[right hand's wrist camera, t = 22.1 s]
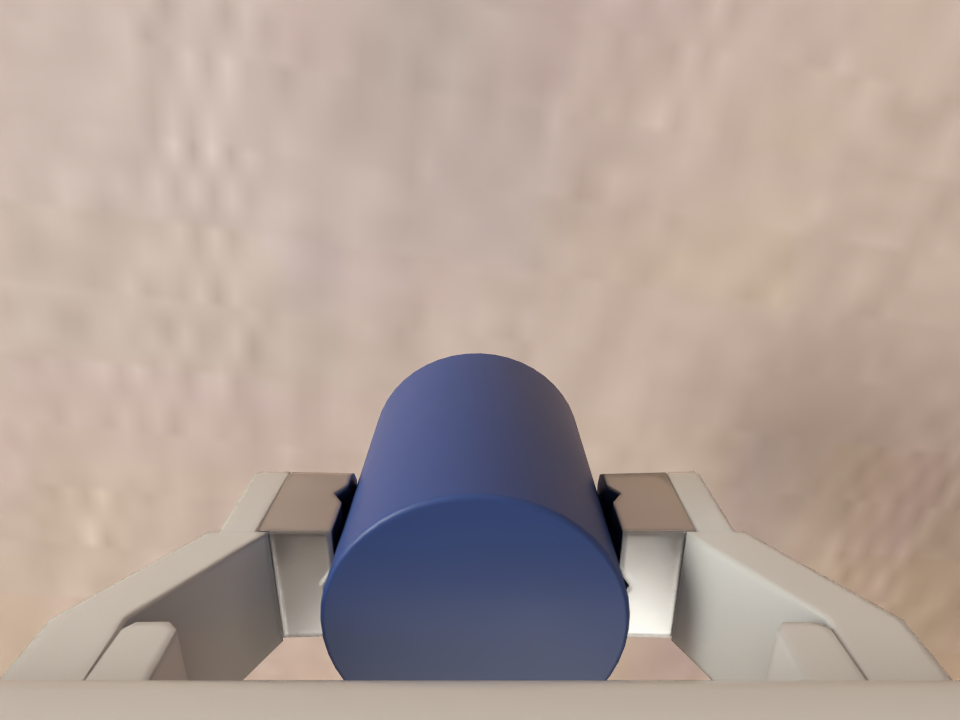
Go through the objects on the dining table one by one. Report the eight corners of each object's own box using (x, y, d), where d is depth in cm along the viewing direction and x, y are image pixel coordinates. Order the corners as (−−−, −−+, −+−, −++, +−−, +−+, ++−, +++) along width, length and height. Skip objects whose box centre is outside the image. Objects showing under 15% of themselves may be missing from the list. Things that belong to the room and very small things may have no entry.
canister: (581, 522, 13) (633, 729, 9) (391, 538, 13) (347, 749, 9) (573, 343, 11) (629, 482, 7) (360, 362, 12) (290, 509, 7)
